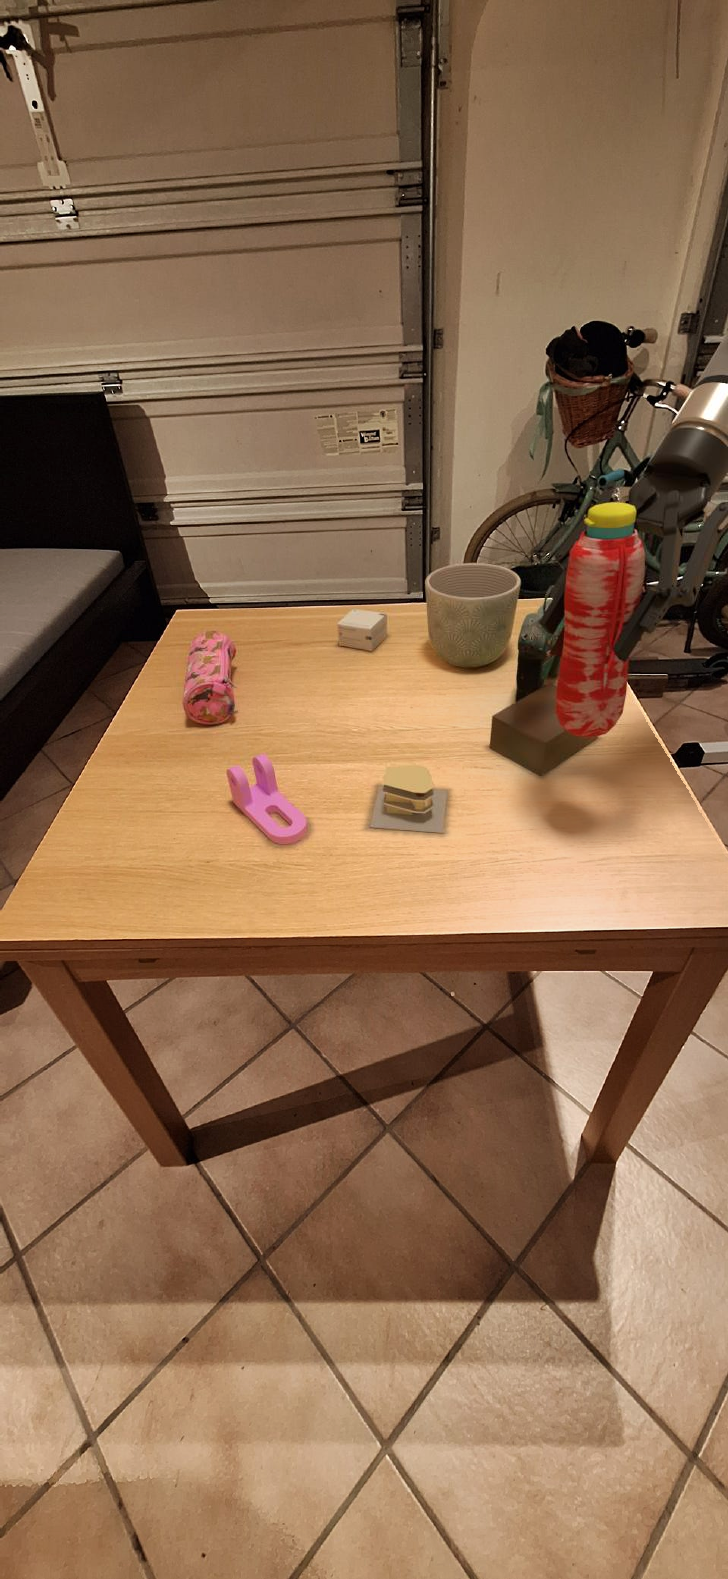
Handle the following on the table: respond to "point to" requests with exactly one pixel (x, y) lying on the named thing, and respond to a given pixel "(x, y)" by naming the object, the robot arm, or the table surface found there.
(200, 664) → the pencil case
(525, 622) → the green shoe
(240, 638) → the table surface
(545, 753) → the walnut stand
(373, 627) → the small box
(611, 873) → the table surface
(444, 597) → the planter
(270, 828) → the bracket
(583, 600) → the water bottle
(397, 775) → the stacked layers on plate
